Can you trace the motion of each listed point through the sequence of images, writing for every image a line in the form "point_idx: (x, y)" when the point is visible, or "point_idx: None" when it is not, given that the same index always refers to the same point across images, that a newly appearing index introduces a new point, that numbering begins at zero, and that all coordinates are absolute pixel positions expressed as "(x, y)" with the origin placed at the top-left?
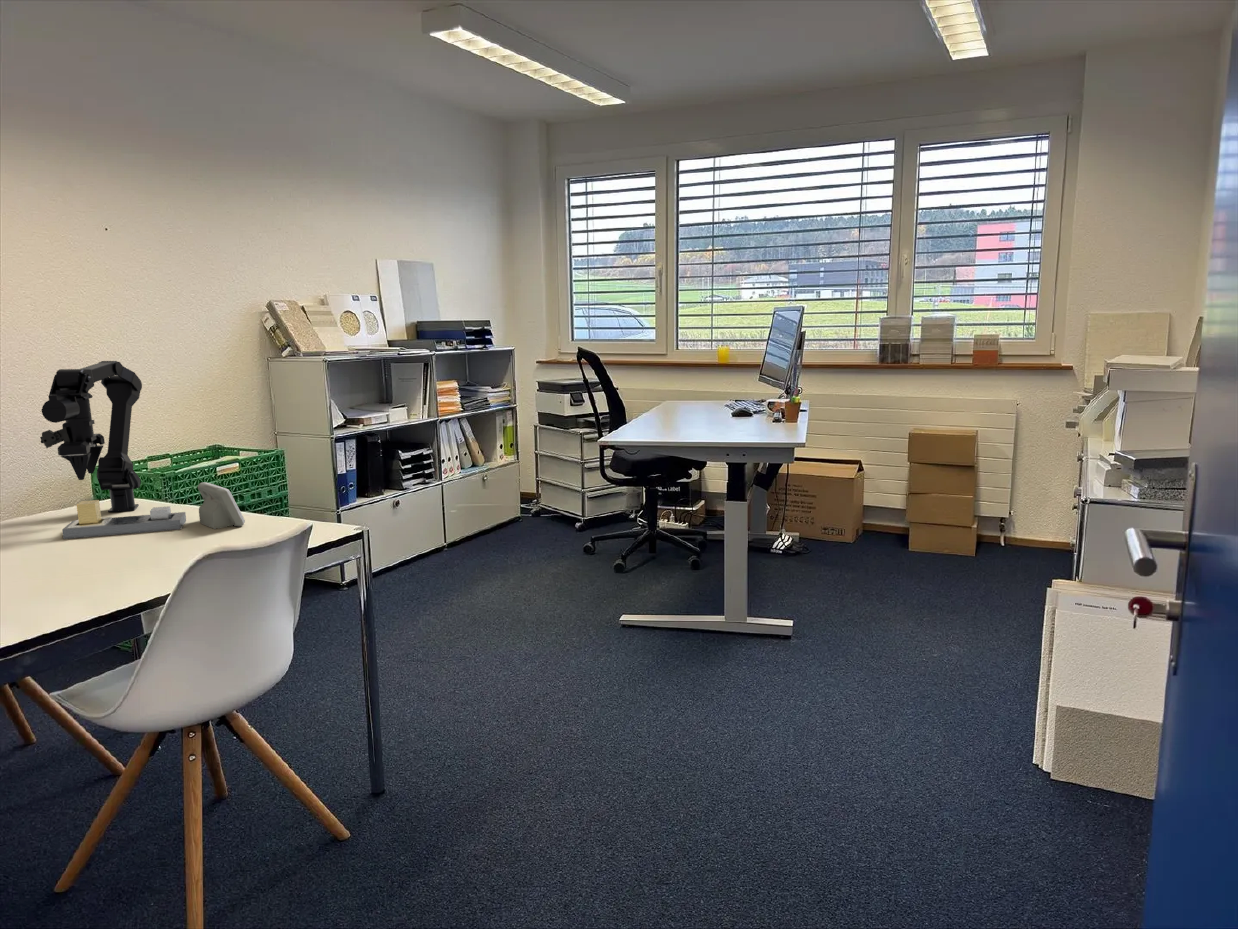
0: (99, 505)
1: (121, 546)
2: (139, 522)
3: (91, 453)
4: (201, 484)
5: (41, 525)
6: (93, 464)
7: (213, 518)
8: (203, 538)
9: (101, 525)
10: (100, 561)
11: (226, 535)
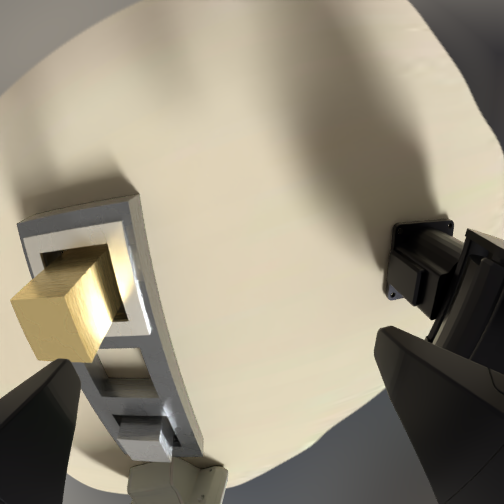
0: (97, 346)
1: (6, 364)
2: (96, 403)
3: (473, 489)
4: None
5: (262, 39)
6: (409, 415)
7: (128, 483)
8: (75, 454)
9: None
10: None
11: (95, 471)
